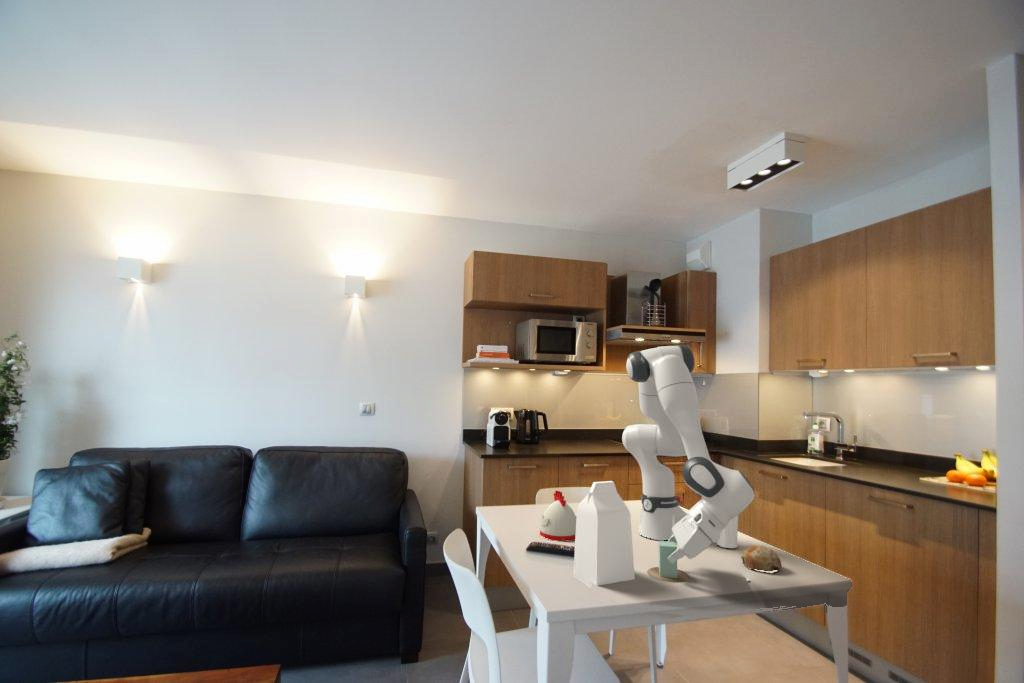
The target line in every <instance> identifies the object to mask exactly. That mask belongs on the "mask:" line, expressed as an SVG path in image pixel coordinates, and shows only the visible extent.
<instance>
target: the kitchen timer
mask: <svg viewBox="0 0 1024 683" xmlns="http://www.w3.org/2000/svg"><path fill="white" fill-rule="evenodd" d="M553 498H554V501H553V502H551V504H549V506H548V507H547V508H546V510H545V511H544V513H543V514H541V516H540V527H539V536H540V535H541V536H543V537H545V538H548V539H547V540H549V539H552V540H551V541H554V540H559V541H558V542H568V541H567V540H571V541H575V540H574V539H575V535H576V516H577V515H576V514H575V512H574V510H573V508H572V507H571V506H570V505H569V504H568V503H567V501H566V500H565V496H564V495H563V492H562V491H561V490H555V492H554V493H553ZM541 536H540V537H541ZM543 537H542V538H543ZM545 538H544V539H545ZM562 540H563V541H562Z"/></svg>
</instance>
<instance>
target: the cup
mask: <svg viewBox="0 0 1024 683" xmlns="http://www.w3.org/2000/svg"><path fill="white" fill-rule="evenodd" d="M738 529H739V515H738V516H736V517H734V518H732V519H731V520H730V521H729V522H728V524H727V526H726V527H725V528H724V529H723V530H722V531H721V536H720V539H719V540H718V541H717V542H716V545H717V546H718V545H719V547H721V548H725V549H727V548H728V549H735V548H738V538H739V537H738V531H739V530H738Z"/></svg>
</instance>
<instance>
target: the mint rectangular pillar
mask: <svg viewBox="0 0 1024 683" xmlns="http://www.w3.org/2000/svg"><path fill="white" fill-rule="evenodd" d="M677 548H678V546H677V543H675V542H667V541H664V540H658V567H659V573H660V577H670V578H677V569H678V560H676V561H675V562H674V563H673V564H672V563H671V562H670V561H669V560H668V558H667V556H668V555H669V554H670V553H673V552H674V551H676V549H677Z"/></svg>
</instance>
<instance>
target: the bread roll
mask: <svg viewBox="0 0 1024 683" xmlns="http://www.w3.org/2000/svg"><path fill="white" fill-rule="evenodd" d="M740 559H741V560H742V564H743V565H744V564H745V565H744V566H747V567H749V568H751V569H757V570H764V571H773V570H780V569H781V570H782V561H781V558H780V557H779V555H778V554H777V553H776V552H774V551H773V550H772V548H768V547H766V546H763V545H753V546H750V547H748V548H746V549H745V550H744V551H743V553H742V554H741V555H740ZM747 567H746V568H747ZM749 568H748V569H749ZM781 570H780V571H781Z"/></svg>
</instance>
